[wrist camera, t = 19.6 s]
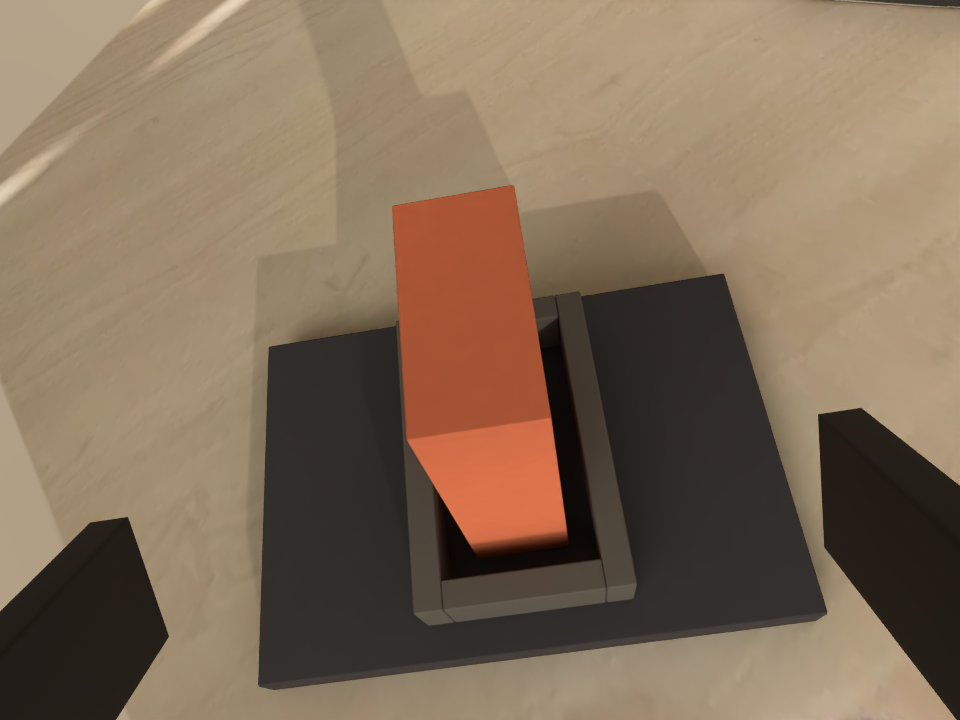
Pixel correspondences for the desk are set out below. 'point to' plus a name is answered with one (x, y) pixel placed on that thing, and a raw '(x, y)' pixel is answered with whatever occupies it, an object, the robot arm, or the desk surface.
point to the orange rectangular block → (477, 370)
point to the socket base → (585, 491)
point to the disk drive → (914, 2)
